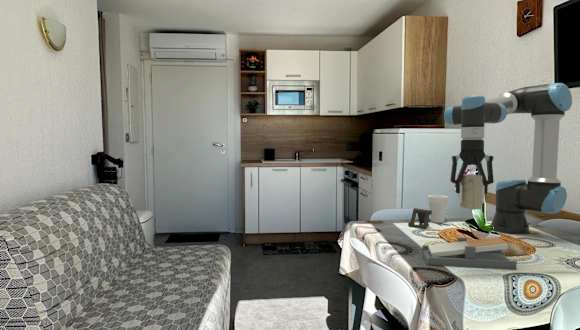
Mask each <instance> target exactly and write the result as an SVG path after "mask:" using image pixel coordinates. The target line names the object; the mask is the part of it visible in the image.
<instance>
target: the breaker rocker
mask: <svg viewBox="0 0 580 330" xmlns="http://www.w3.org/2000/svg"><path fill="white" fill-rule="evenodd" d="M507 243H508V242H506V241H505V240H504V239H503V238H501V237H500V236H495V237H488V238H480V239H471V240H467V241H462V242H457V241H456V242H455V241H454V242H446V243H438V244H430V245H428V244H427V245H428V249H429V251H430V253H431V255H432V257H441V256H449V255H458V254H465V246H475V247H476V251H475V253H476V252H485V251H494V250H503V249H508V244H507Z"/></svg>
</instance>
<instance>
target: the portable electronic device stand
mask: <svg viewBox="0 0 580 330" xmlns="http://www.w3.org/2000/svg"><path fill="white" fill-rule="evenodd" d="M431 214H432V211H431V210H430V209H425V208H418V207H417V208H415V207H414V208H413V209H412V214H411V219H410V221H408V222H407V223H408V225H407V226H408V227H411V228H416V229H421V230H427V228H428V227H429V226H430V224H429V219H430V215H431ZM416 217H417V219H418V224H415V221H416Z"/></svg>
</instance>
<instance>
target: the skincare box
mask: <svg viewBox="0 0 580 330" xmlns="http://www.w3.org/2000/svg"><path fill="white" fill-rule="evenodd" d="M460 184H461V185H462V203H459V207H460V208H464V209H468V210H472V211H473V210H482V206H483V203H482V185H483V183H482V176H480V174H471V173H469V174H468V173H467V174H464V175H463V178H462V180H461V183H460Z"/></svg>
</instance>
